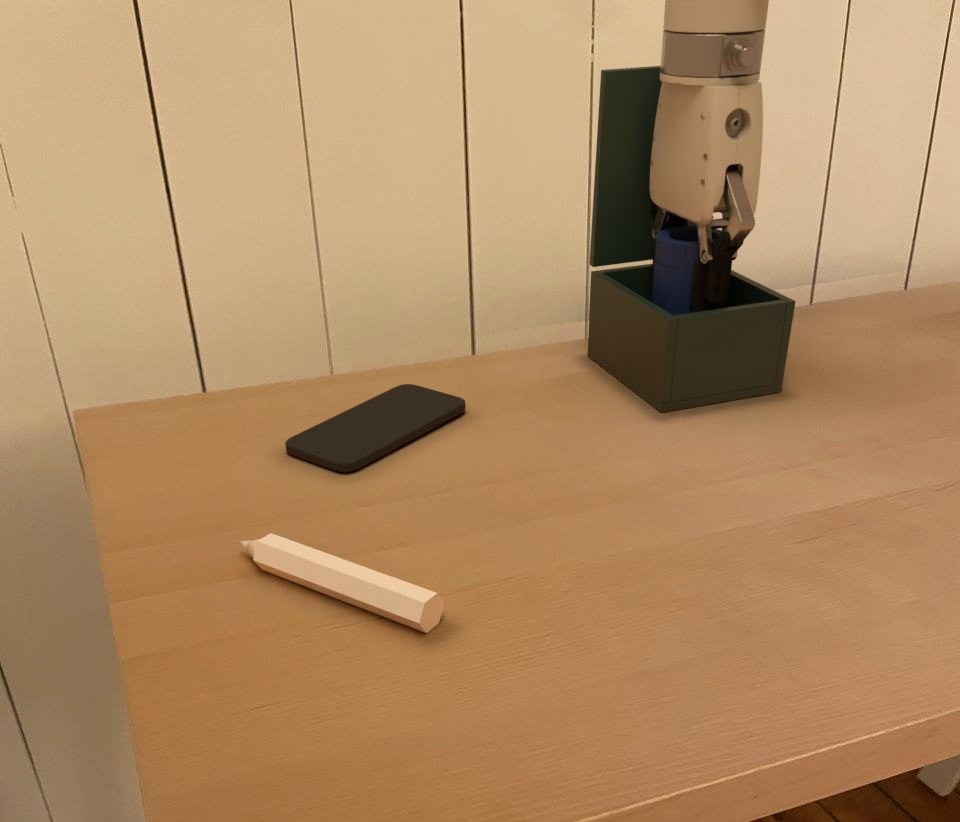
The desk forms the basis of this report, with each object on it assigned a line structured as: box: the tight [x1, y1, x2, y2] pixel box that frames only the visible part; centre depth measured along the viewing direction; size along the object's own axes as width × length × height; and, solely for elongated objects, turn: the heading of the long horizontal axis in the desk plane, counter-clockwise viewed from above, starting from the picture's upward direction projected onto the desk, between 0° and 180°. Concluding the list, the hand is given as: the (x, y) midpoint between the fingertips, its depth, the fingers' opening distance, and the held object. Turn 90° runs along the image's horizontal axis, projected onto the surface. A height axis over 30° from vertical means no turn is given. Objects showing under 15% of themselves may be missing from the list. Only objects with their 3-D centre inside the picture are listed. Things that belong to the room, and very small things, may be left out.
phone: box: [284, 383, 466, 473], centre depth 82 cm, size 7×1×15 cm
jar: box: [651, 226, 722, 315], centre depth 87 cm, size 6×6×10 cm
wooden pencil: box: [236, 532, 445, 634], centre depth 62 cm, size 3×2×16 cm
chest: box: [587, 263, 796, 413], centre depth 89 cm, size 15×12×8 cm
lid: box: [588, 65, 697, 268], centre depth 89 cm, size 15×12×5 cm
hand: (687, 295), depth 87 cm, fingers closed on jar, 6 cm apart
